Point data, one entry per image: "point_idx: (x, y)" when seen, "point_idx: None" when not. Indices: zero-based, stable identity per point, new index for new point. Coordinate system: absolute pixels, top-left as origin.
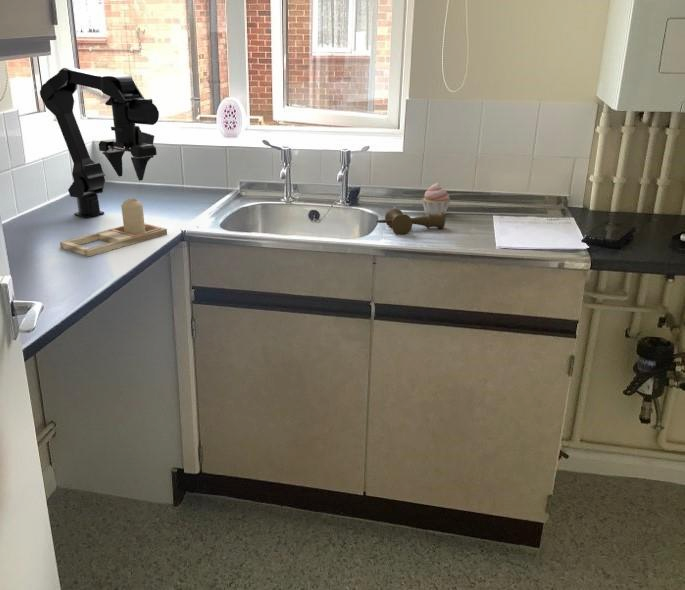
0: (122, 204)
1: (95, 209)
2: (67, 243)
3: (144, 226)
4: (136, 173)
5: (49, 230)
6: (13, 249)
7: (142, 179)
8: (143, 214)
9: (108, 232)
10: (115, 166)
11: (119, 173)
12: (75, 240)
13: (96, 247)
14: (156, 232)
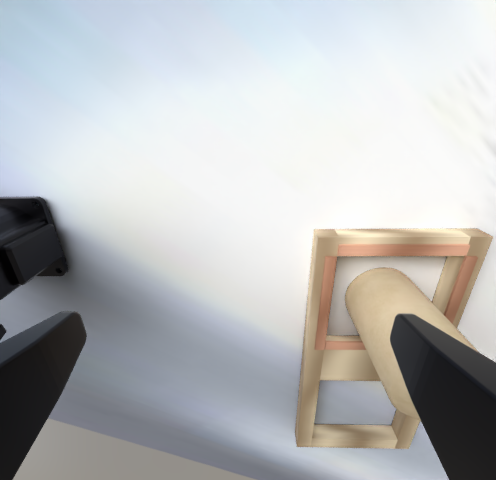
0: (411, 416)
1: (45, 251)
2: (321, 444)
3: (424, 294)
4: (435, 436)
5: (135, 385)
6: (225, 469)
7: (415, 319)
8: (450, 322)
9: (332, 360)
10: (9, 473)
11: (68, 357)
12: (313, 425)
13: (408, 431)
14: (472, 278)
